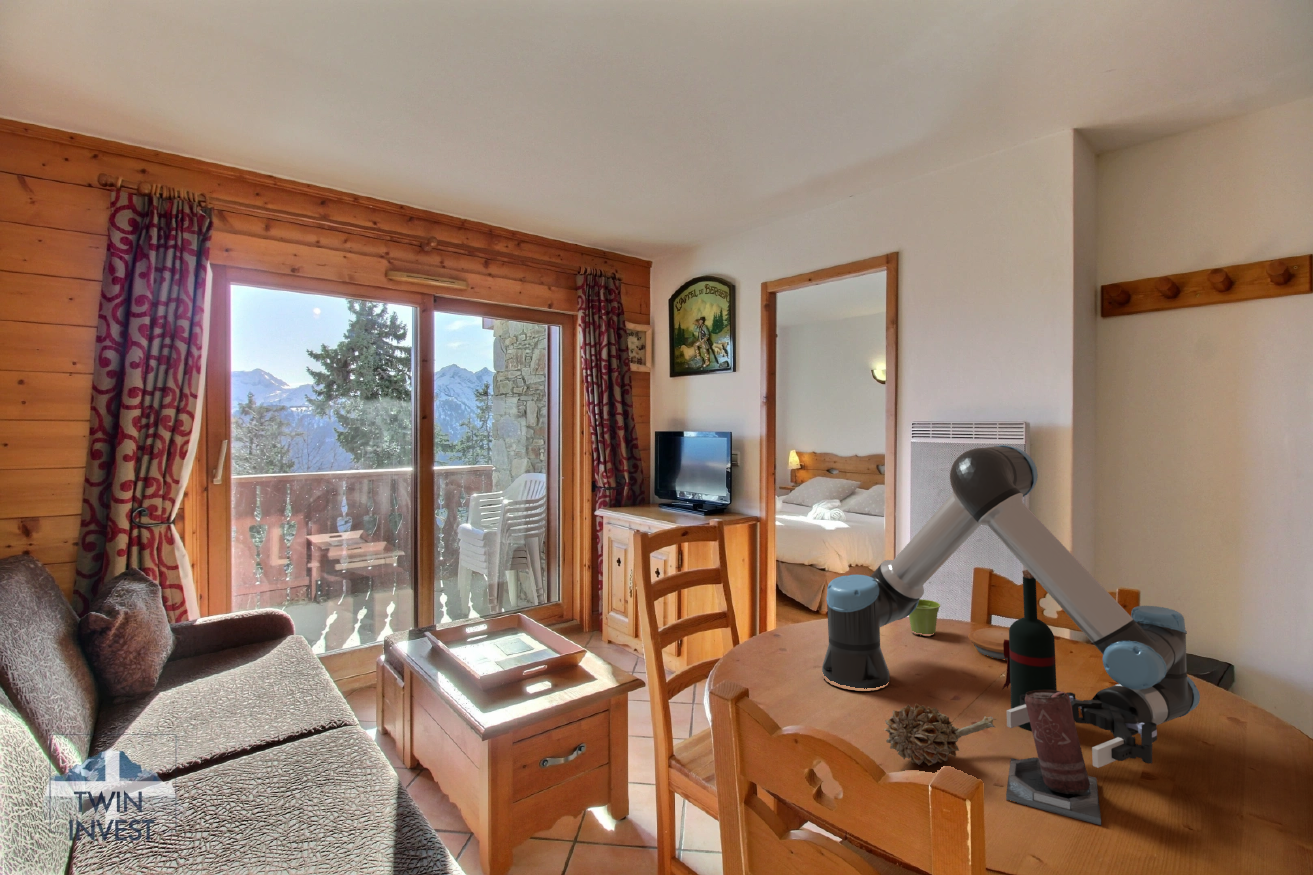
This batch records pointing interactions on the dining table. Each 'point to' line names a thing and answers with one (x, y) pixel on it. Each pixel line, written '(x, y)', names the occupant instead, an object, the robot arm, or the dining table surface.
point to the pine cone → (927, 734)
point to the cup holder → (1050, 793)
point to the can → (1057, 741)
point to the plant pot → (924, 617)
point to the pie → (990, 641)
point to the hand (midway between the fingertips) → (1048, 737)
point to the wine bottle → (1029, 650)
